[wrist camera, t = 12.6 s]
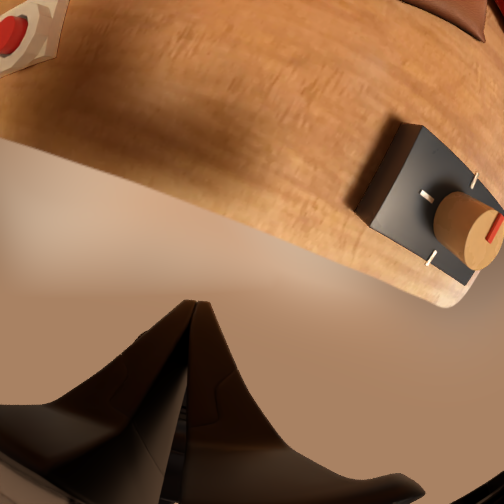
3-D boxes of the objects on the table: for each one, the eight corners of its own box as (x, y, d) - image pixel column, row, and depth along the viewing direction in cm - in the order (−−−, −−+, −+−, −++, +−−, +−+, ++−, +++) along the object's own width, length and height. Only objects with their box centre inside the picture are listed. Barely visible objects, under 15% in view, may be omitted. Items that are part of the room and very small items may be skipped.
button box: (-11, 88, 13) (-35, 90, 10) (2, 22, 10) (-20, 19, 7) (55, 63, 14) (29, 60, 11) (73, -11, 10) (52, -23, 7)
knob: (454, 253, 18) (484, 281, 14) (423, 231, 17) (456, 259, 13) (479, 208, 16) (514, 229, 13) (451, 180, 16) (490, 199, 12)
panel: (351, 215, 20) (367, 231, 17) (402, 119, 17) (425, 121, 14) (447, 272, 23) (464, 290, 20) (488, 200, 19) (509, 212, 16)
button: (0, 59, 10) (-14, 58, 8) (7, 25, 9) (-6, 23, 7) (23, 48, 10) (9, 46, 9) (32, 13, 9) (18, 9, 7)
